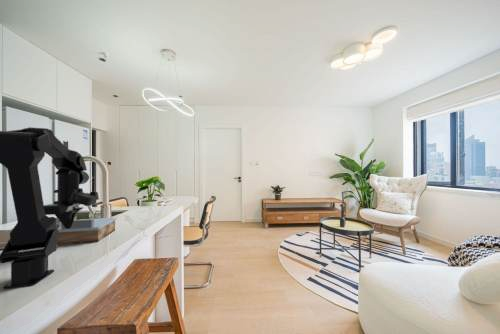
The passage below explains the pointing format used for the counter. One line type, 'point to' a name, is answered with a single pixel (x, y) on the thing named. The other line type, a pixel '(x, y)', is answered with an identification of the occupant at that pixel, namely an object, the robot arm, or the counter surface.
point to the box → (85, 235)
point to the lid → (87, 224)
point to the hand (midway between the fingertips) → (68, 228)
